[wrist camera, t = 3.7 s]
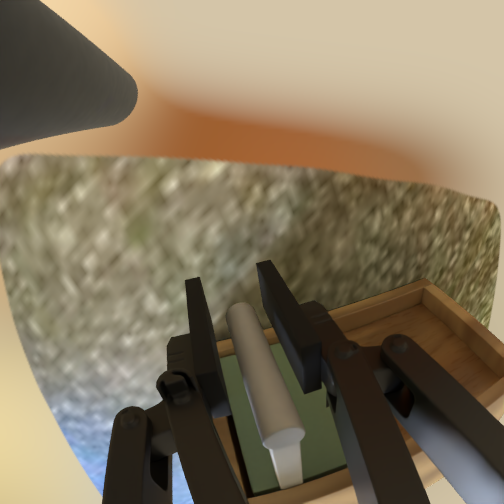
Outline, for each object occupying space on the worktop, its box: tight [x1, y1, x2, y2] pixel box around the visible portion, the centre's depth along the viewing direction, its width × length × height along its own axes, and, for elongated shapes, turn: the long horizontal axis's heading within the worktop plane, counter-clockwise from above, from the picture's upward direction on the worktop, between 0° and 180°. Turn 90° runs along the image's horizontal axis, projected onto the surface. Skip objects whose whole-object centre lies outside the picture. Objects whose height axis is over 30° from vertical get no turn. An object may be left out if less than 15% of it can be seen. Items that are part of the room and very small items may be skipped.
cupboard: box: [212, 278, 504, 504], centre depth 18 cm, size 12×18×12 cm
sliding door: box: [220, 303, 348, 497], centre depth 14 cm, size 6×7×10 cm
